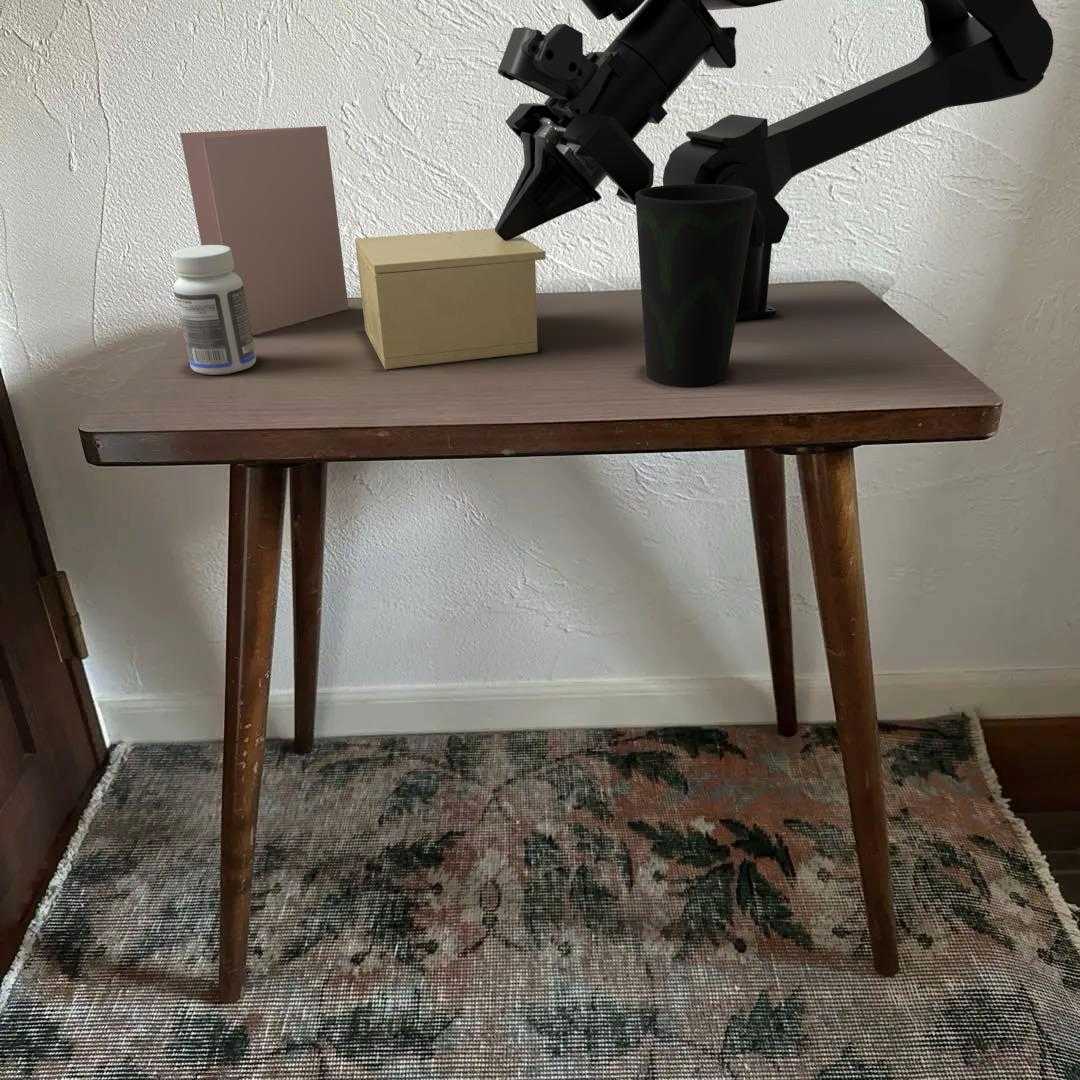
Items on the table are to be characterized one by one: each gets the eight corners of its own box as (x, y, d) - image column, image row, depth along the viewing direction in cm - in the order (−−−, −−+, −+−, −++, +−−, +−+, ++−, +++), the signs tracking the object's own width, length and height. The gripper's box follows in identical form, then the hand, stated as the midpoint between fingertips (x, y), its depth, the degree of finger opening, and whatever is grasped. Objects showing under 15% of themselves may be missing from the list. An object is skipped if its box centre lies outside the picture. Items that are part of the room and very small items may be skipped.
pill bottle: (237, 352, 72) (217, 240, 68) (268, 365, 69) (249, 248, 66) (179, 367, 70) (154, 251, 66) (209, 380, 67) (185, 260, 63)
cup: (758, 387, 62) (775, 197, 57) (647, 396, 61) (653, 204, 56) (720, 353, 69) (732, 181, 63) (619, 361, 68) (622, 187, 62)
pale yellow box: (501, 318, 80) (498, 235, 76) (537, 352, 71) (535, 260, 67) (365, 332, 77) (355, 247, 74) (384, 369, 68) (374, 274, 65)
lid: (507, 234, 77) (507, 227, 76) (546, 259, 68) (545, 251, 67) (355, 246, 74) (354, 238, 73) (374, 273, 65) (373, 265, 64)
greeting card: (347, 306, 84) (325, 125, 77) (355, 327, 78) (331, 132, 71) (216, 318, 82) (180, 132, 75) (212, 340, 76) (173, 140, 69)
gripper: (528, -12, 73) (399, 147, 75) (615, -29, 57) (447, 173, 59) (620, 97, 78) (497, 242, 81) (722, 110, 62) (565, 289, 65)
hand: (499, 236), depth 71 cm, fingers closed, pressing on lid
